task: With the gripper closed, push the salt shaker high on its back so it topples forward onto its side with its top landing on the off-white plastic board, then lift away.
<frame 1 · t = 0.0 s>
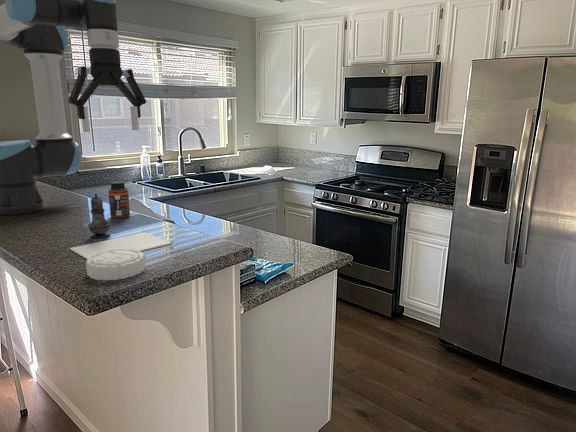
hand: (112, 131, 121), 28 cm above the table, tool pointing down, fingers open, 13 cm apart
salt shaker: (100, 237, 121), on the table
supplement bottle: (120, 217, 143), on the table
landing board: (121, 246, 112), on the table
mooncake: (117, 271, 96), on the table
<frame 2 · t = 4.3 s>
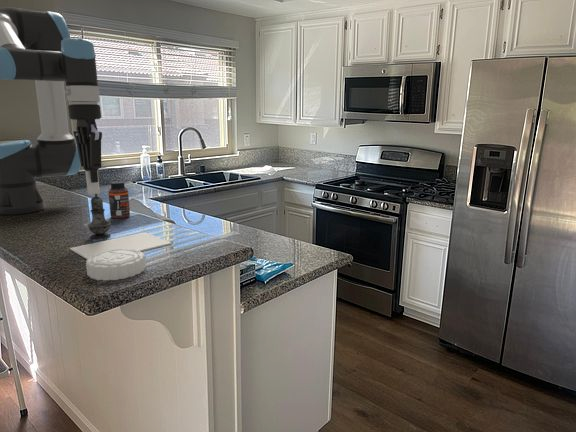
hand: (94, 194, 119), 12 cm above the table, tool pointing down, fingers closed
salt shaker: (100, 237, 121), on the table, touching gripper
everything else where it was.
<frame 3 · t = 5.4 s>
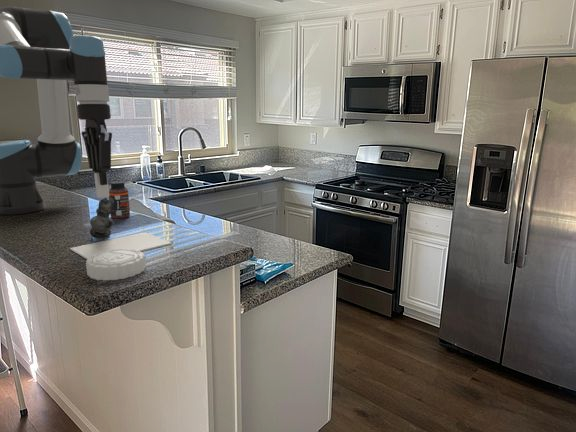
hand: (103, 196, 115), 12 cm above the table, tool pointing down, fingers closed
salt shaker: (100, 232, 121), point 1 cm above the table, touching gripper
everything else where it was.
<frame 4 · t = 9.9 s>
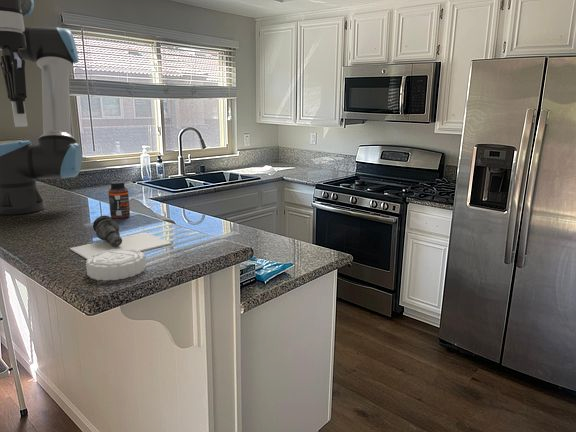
hand: (21, 126, 118), 29 cm above the table, tool pointing down, fingers closed
salt shaker: (103, 224, 118), point 4 cm above the table, touching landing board
everything else where it was.
at the end: salt shaker tilted 103°; salt shaker inside the target area (1.2 cm from its centre), point 4.1 cm above the table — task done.
